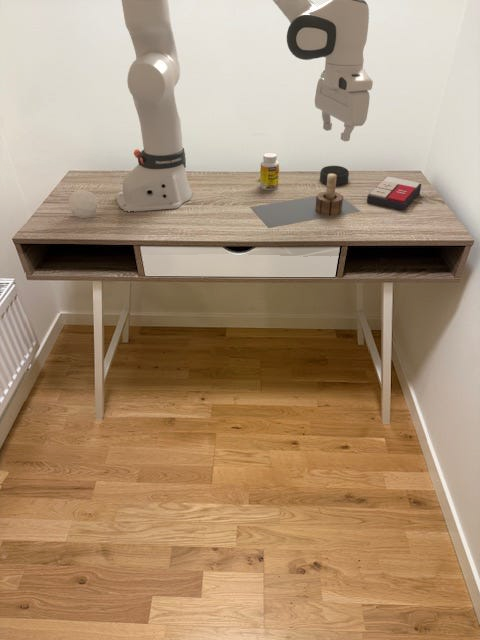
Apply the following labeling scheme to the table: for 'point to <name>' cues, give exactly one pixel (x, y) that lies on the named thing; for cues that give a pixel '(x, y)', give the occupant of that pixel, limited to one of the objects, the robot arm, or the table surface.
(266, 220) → the felt mat
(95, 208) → the geometric ball
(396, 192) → the calculator
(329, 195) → the dowel
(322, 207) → the bead
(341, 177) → the smart speaker
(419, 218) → the table surface
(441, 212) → the table surface
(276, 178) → the supplement bottle
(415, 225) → the table surface
